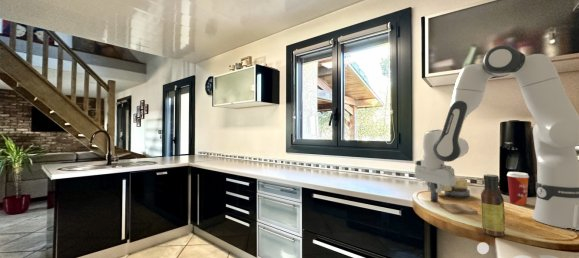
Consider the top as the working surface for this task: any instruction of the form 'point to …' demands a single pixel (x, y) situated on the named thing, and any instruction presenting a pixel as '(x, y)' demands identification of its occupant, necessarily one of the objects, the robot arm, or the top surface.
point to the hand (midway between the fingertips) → (434, 191)
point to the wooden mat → (458, 209)
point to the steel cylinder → (434, 192)
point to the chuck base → (458, 194)
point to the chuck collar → (457, 185)
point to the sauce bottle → (492, 207)
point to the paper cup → (518, 187)
